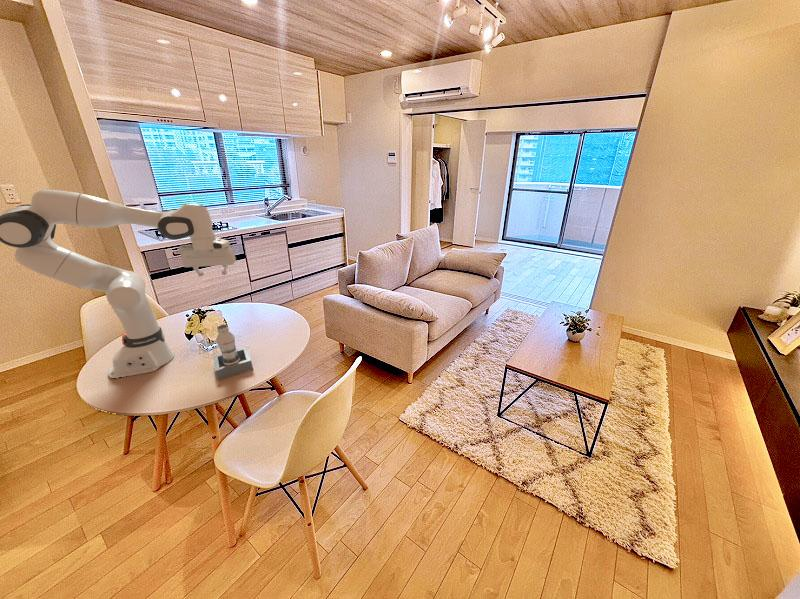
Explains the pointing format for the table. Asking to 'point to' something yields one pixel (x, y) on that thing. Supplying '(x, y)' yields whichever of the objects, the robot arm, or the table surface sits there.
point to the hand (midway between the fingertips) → (213, 275)
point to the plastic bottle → (227, 345)
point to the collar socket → (233, 365)
